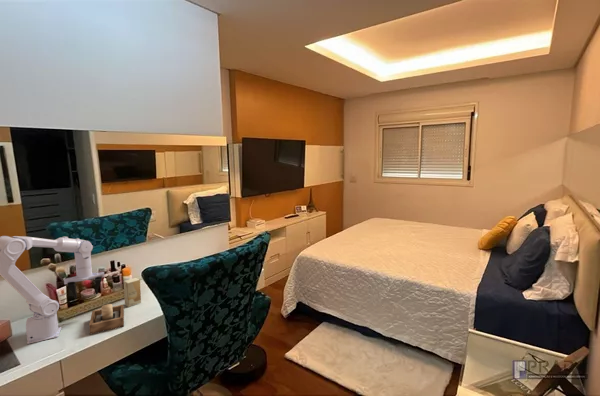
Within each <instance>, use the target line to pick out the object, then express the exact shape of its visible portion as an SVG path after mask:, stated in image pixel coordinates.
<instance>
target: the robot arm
mask: <svg viewBox="0 0 600 396" xmlns="http://www.w3.org/2000/svg"><path fill="white" fill-rule="evenodd" d="M32 247H35V248H52V249H54V251H56V252H59V253H60V252H63V253H74V262H75V263H74V264H75V273H76V274H75V276H72V277H67V278H64V280H63V284H64V285H67V288H69V290H70V292H72V295H73V298H74V299H76V300H77V299H78V294H77V288H76V286H77V285H76V283H77V282H82V281H84V282H85V281H88V280H89V281H90V280H94V283H95V295H98V294H99V287H100V285H101V282H102V279H103V278H105V271H101V272H93V269H92V266H93V265H92V257H91V256H92V251H93V248H94V245H92V242H91V241H89V240H85V239H80V238H78V237H76V238H69V236H62V237H58V238H56V239H49V238H43V237H42V238H40V237H32V236H25V235H22V236H18V235H14V236H12V235H11V236H9V235H2V236H0V276H1V278H3V280H5V281H6V282H7V284H9V285H10V286H11V287H12V288H13V289H14V290H15V291H16V292H17V293H19V295H20V296H21V297H23V299H24V300H25V303H27V304H28V308H29V310H30V312H32V313H33V315H32V316H31V317H27V319H26V322H25V331H26V340H27V345H29V344H32V343H37V342H42V341H45V340H47V341H48V340H50V339H56V338H58V337H59V335H60V332H61V330H62V326H59V322H58V313H57V312H58V310H59V308H60V303H59V301H58V300H54V299H51V298H50V297H49V296H48V295H46V294H45V293H43V292H42V291H41V290H40V289H39V288H38V287H37V286H36V285H35V284H34V283H33V282H32V281H31V280H30V279H29V278H28V277H27V276H26V274H25V273H24V272H22V271H21V270H20V269H19V268H18V267H17V266H16V262H17V260H18V259H19V258H20V257H21V255H22V254H23V253H24V252H25V251H28V250H30V249H31V248H32Z"/></svg>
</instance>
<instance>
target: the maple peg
mask: <svg viewBox="0 0 600 396" xmlns="http://www.w3.org/2000/svg"><path fill="white" fill-rule="evenodd" d="M112 307H113V304H112V303H107V304H103V305H101V308H100V309H102V321H105V320H110V319H113V309H112Z"/></svg>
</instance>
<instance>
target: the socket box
mask: <svg viewBox="0 0 600 396" xmlns="http://www.w3.org/2000/svg"><path fill="white" fill-rule="evenodd" d="M112 309H113V319H110V320H105V321H102V309H101V308H99V309H94V310H92V311H91V316H90V320H89V325H88V326H89V327H88V328H89V335H94V334H98V332H99V333H102V332H108V331H111V330H116V329H120V328H124V326H125V309H124V304H119V305H118V304H117V305H114V306H113V305H112ZM115 328H116V329H115Z"/></svg>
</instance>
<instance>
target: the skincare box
mask: <svg viewBox="0 0 600 396" xmlns="http://www.w3.org/2000/svg"><path fill="white" fill-rule="evenodd" d="M123 292H124V293H123V294H124V295H123V296H124V305H125V306H126V307H128V308H130V307H132V306H136V305H139V304H142V296H141V294H142V293H141V292H142V291H141V280H140V278H138V277H135V278H134V277H133V278H129V279H126V280H123Z"/></svg>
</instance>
